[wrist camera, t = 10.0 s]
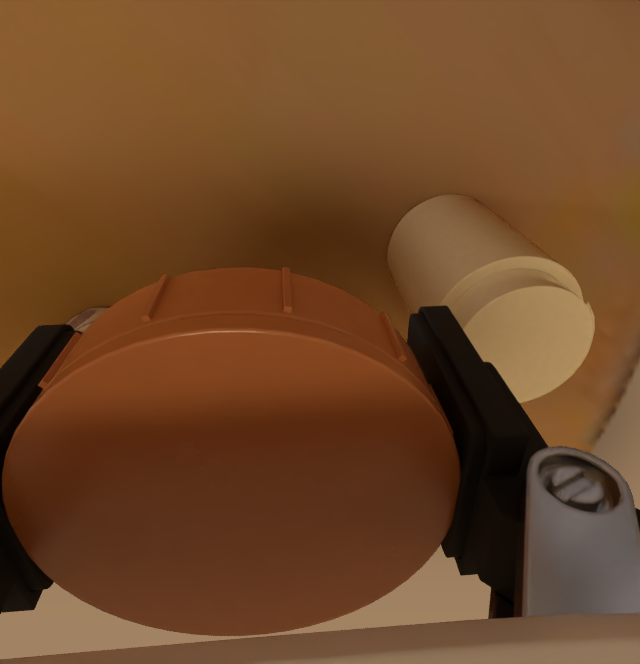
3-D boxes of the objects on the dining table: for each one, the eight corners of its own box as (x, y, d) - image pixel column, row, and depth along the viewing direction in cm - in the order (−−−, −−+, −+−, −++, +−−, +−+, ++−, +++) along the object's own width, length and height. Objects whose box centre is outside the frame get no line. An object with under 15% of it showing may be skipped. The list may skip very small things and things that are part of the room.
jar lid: (446, 253, 7) (498, 311, 6) (413, 531, 11) (439, 616, 9) (-8, 279, 7) (-97, 350, 5) (111, 560, 10) (81, 655, 9)
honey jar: (418, 318, 30) (479, 436, 21) (366, 237, 27) (411, 335, 18) (514, 262, 28) (625, 363, 19) (470, 169, 25) (578, 238, 16)
